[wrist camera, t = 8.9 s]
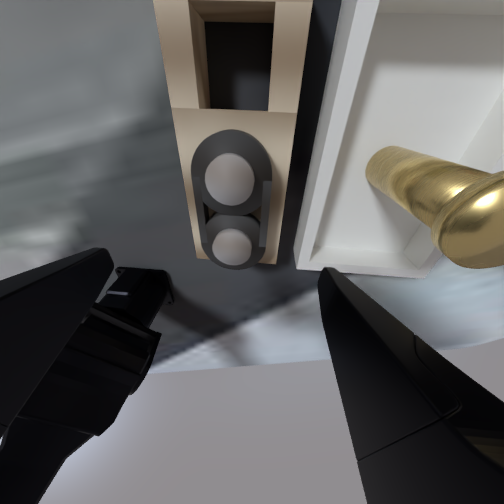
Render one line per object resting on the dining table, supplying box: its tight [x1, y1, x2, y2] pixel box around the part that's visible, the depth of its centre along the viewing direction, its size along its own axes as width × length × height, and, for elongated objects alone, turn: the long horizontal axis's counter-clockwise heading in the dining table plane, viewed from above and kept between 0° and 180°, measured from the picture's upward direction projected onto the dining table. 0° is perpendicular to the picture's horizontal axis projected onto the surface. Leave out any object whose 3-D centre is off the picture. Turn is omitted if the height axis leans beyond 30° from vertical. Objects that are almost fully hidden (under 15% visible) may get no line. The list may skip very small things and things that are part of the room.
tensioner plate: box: [153, 0, 313, 270], centre depth 15 cm, size 18×8×5 cm, turn 178°
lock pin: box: [365, 146, 504, 269], centre depth 11 cm, size 4×4×10 cm
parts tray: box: [293, 0, 504, 279], centre depth 15 cm, size 18×12×4 cm, turn 178°
